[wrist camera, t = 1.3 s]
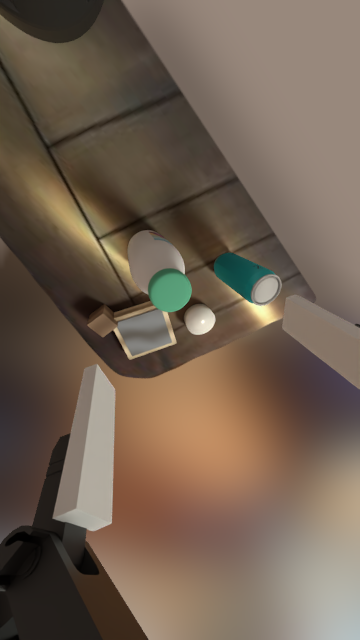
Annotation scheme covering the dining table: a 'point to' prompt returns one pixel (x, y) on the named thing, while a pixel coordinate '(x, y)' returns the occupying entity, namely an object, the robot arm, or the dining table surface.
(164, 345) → the wooden picture frame
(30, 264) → the dining table surface
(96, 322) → the tan wooden block
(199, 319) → the white rounded block
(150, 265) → the milk bottle
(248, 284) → the beverage can
